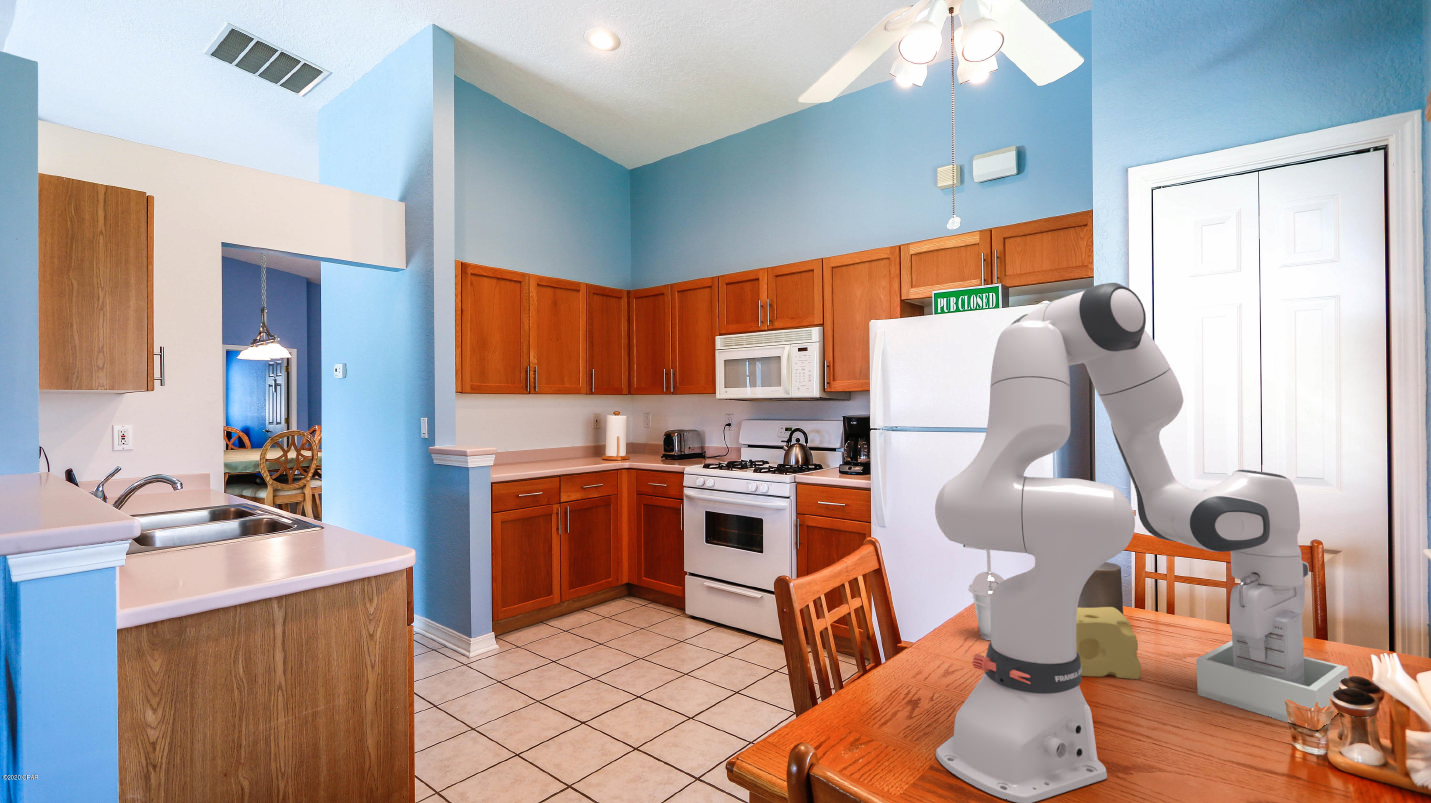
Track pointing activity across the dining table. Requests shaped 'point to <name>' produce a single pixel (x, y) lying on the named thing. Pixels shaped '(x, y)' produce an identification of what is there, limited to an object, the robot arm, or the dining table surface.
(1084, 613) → the cheese
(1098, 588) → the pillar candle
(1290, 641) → the supplement box
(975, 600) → the cup with straw
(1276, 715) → the box
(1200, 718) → the dining table surface
